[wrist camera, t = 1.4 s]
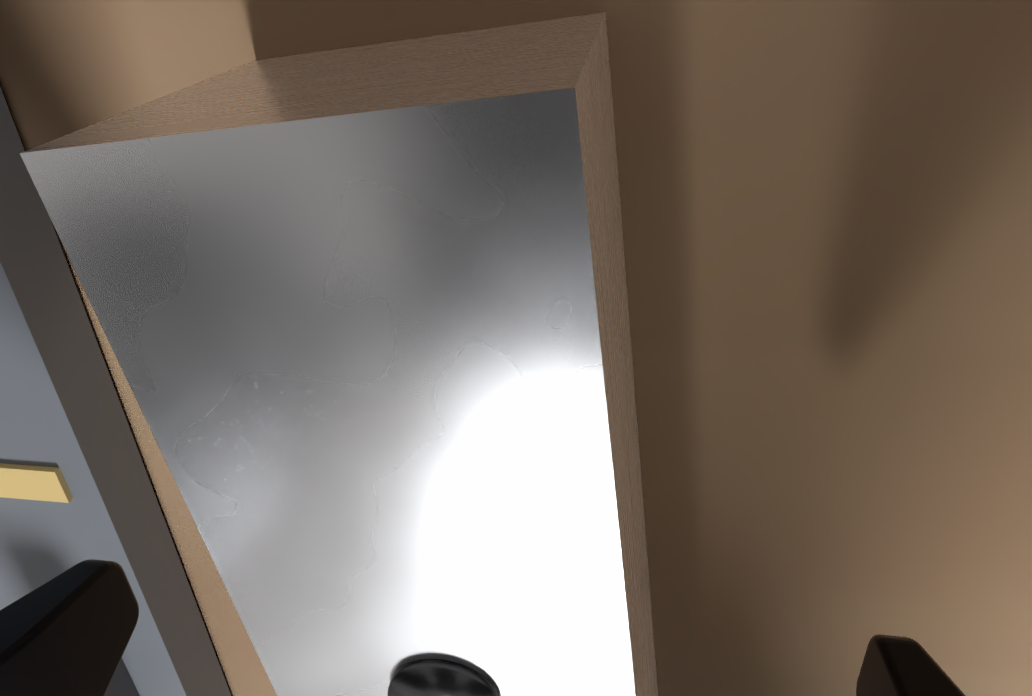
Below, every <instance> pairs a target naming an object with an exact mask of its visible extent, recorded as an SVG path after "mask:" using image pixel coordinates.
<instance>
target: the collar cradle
mask: <svg viewBox="0 0 1032 696" xmlns="http://www.w3.org/2000/svg"><path fill="white" fill-rule="evenodd" d="M21 152H24V148H23V145H22V143H21V140H20V137H19V135H18V132H17V129H16V127H15V124H14V122H13V119H12V116H11V114H10V111H9V108H8V106H7V103H6V100H5V98H4V95H3V93H2V90H1V87H0V610H1V609H3V608H5V607H6V606H8V605H9V604H11V603H13V602H14V601H16V600H18V599H19V598H21V597H23V596H24V595H26V594H28V593H29V592H31V591H33V590H34V589H36V588H38V587H39V586H41V585H43V584H44V583H46V582H48V581H49V580H51V579H53V578H54V577H56V576H58V575H59V574H61V573H63V572H64V571H66V570H68V569H69V568H71V567H73V566H74V565H76V564H78V563H80V562H81V561H84V560H89V559H95V560H105V561H114V562H117V563H118V564H120V565H121V566H122V568H123V570H124V572H125V574H126V577H127V579H128V581H129V583H130V586H131V588H132V590H133V593H134V595H135V597H136V599H137V602H138V605H139V617H138V621H137V624H136V627H135V629H134V631H133V634H132V636H131V638H130V640H129V642H128V645H127V647H126V649H125V651H124V654H123V656H122V658H121V660H120V662H119V665H118V667H117V669H116V671H115V674H114V676H113V678H112V680H111V682H110V685H109V687H108V689H107V691H106V694H105V696H231V694H230V691H229V688H228V686H227V683H226V680H225V678H224V675H223V672H222V670H221V667H220V665H219V662H218V659H217V657H216V654H215V651H214V649H213V646H212V643H211V641H210V638H209V636H208V633H207V630H206V628H205V625H204V622H203V620H202V617H201V614H200V612H199V609H198V607H197V604H196V601H195V599H194V596H193V593H192V591H191V588H190V585H189V583H188V580H187V578H186V575H185V572H184V570H183V567H182V564H181V562H180V559H179V556H178V554H177V551H176V549H175V546H174V543H173V541H172V538H171V535H170V533H169V530H168V527H167V525H166V522H165V520H164V517H163V514H162V512H161V509H160V506H159V504H158V501H157V498H156V496H155V493H154V491H153V488H152V485H151V483H150V480H149V477H148V475H147V472H146V470H145V467H144V464H143V462H142V459H141V456H140V454H139V451H138V448H137V446H136V443H135V441H134V438H133V435H132V433H131V430H130V427H129V425H128V422H127V419H126V417H125V414H124V412H123V409H122V406H121V404H120V401H119V398H118V396H117V393H116V390H115V388H114V385H113V383H112V380H111V377H110V375H109V372H108V369H107V367H106V364H105V361H104V359H103V356H102V354H101V351H100V348H99V346H98V343H97V340H96V338H95V335H94V332H93V330H92V327H91V325H90V322H89V319H88V317H87V314H86V311H85V309H84V306H83V303H82V301H81V298H80V296H79V293H78V290H77V288H76V285H75V282H74V280H73V277H72V274H71V272H70V269H69V267H68V264H67V261H66V259H65V256H64V253H63V251H62V248H61V245H60V243H59V240H58V238H57V235H56V232H55V230H54V227H53V224H52V222H51V219H50V216H49V214H48V212H47V210H46V208H45V206H44V204H43V202H42V199H41V197H40V195H39V193H38V191H37V189H36V187H35V185H34V183H33V181H32V178H31V176H30V174H29V172H28V170H27V168H26V166H25V164H24V162H23V159H22V157H21V155H20V153H21Z"/></svg>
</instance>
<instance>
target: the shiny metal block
mask: <svg viewBox="0 0 1032 696" xmlns="http://www.w3.org/2000/svg"><path fill="white" fill-rule="evenodd" d="M20 155H21V157H22V159H23V162H24V164H25V166H26V168H27V170H28V172H29V174H30V176H31V178H32V181H33V183H34V185H35V187H36V189H37V191H38V193H39V195H40V197H41V199H42V202H43V204H44V206H45V208H46V210H47V212H48V214H49V216H50V218H51V221H52V223H53V225H54V227H55V229H56V231H57V233H58V235H59V237H60V240H61V242H62V244H63V246H64V248H65V250H66V252H67V254H68V256H69V258H70V261H71V263H72V265H73V267H74V269H75V271H76V273H77V275H78V277H79V280H80V282H81V284H82V286H83V288H84V290H85V292H86V294H87V296H88V298H89V301H90V303H91V305H92V307H93V309H94V311H95V313H96V315H97V317H98V320H99V322H100V324H101V326H102V328H103V330H104V332H105V334H106V336H107V338H108V341H109V343H110V345H111V347H112V349H113V351H114V353H115V355H116V357H117V360H118V362H119V364H120V366H121V368H122V370H123V372H124V374H125V376H126V378H127V381H128V383H129V385H130V387H131V389H132V391H133V393H134V395H135V397H136V400H137V402H138V404H139V406H140V408H141V410H142V412H143V414H144V416H145V418H146V421H147V423H148V425H149V427H150V429H151V431H152V433H153V435H154V437H155V440H156V442H157V444H158V446H159V448H160V450H161V452H162V454H163V456H164V458H165V461H166V463H167V465H168V467H169V469H170V471H171V473H172V475H173V477H174V480H175V482H176V484H177V486H178V488H179V490H180V492H181V494H182V496H183V498H184V501H185V503H186V505H187V507H188V509H189V511H190V513H191V515H192V517H193V520H194V522H195V524H196V526H197V528H198V530H199V532H200V534H201V536H202V539H203V541H204V543H205V545H206V547H207V549H208V551H209V553H210V555H211V557H212V560H213V562H214V564H215V566H216V568H217V570H218V572H219V574H220V576H221V579H222V581H223V583H224V585H225V587H226V589H227V591H228V593H229V595H230V597H231V600H232V602H233V604H234V606H235V608H236V610H237V612H238V614H239V616H240V619H241V621H242V623H243V625H244V627H245V629H246V631H247V633H248V635H249V637H250V640H251V642H252V644H253V646H254V648H255V650H256V652H257V654H258V656H259V659H260V661H261V663H262V665H263V667H264V669H265V671H266V673H267V675H268V677H269V680H270V682H271V684H272V686H273V688H274V690H275V692H276V694H277V696H658V689H657V676H656V663H655V650H654V637H653V624H652V611H651V598H650V584H649V571H648V558H647V545H646V532H645V519H644V506H643V493H642V480H641V467H640V454H639V441H638V427H637V414H636V401H635V388H634V375H633V362H632V349H631V336H630V323H629V310H628V297H627V284H626V270H625V257H624V244H623V231H622V218H621V205H620V192H619V179H618V166H617V153H616V140H615V127H614V113H613V100H612V87H611V74H610V61H609V48H608V35H607V22H606V12H603V13H596V14H589V15H582V16H574V17H567V18H560V19H553V20H545V21H538V22H531V23H524V24H516V25H509V26H502V27H495V28H487V29H480V30H473V31H466V32H458V33H451V34H444V35H437V36H429V37H422V38H415V39H407V40H400V41H393V42H386V43H378V44H371V45H364V46H357V47H349V48H342V49H335V50H328V51H320V52H313V53H306V54H299V55H291V56H284V57H277V58H270V59H262V60H256V61H253V62H251V63H248V64H246V65H243V66H240V67H238V68H235V69H233V70H230V71H228V72H225V73H223V74H220V75H218V76H215V77H212V78H210V79H207V80H205V81H202V82H200V83H197V84H195V85H192V86H190V87H187V88H184V89H182V90H179V91H177V92H174V93H172V94H169V95H167V96H164V97H162V98H159V99H156V100H154V101H151V102H149V103H146V104H144V105H141V106H139V107H136V108H133V109H131V110H128V111H126V112H123V113H121V114H118V115H116V116H113V117H111V118H108V119H105V120H103V121H100V122H98V123H95V124H93V125H90V126H88V127H85V128H83V129H80V130H77V131H75V132H72V133H70V134H67V135H65V136H62V137H60V138H57V139H55V140H52V141H49V142H47V143H44V144H42V145H39V146H37V147H34V148H32V149H29V150H26V151H24V152H21V153H20Z"/></svg>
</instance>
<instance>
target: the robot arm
mask: <svg viewBox="0 0 1032 696" xmlns="http://www.w3.org/2000/svg"><path fill="white" fill-rule="evenodd" d="M138 617H139V605H138V602H137V599H136V597H135V595H134V593H133V590H132V588H131V586H130V583H129V581H128V579H127V577H126V574H125V572H124V570H123V568H122V566H121V565H120V564H118V563H117V562H114V561H105V560H95V559H89V560H84V561H81V562H80V563H78V564H76V565H74V566H73V567H71V568H69V569H68V570H66V571H64V572H63V573H61V574H59V575H58V576H56V577H54V578H53V579H51V580H49V581H48V582H46V583H44V584H43V585H41V586H39V587H38V588H36V589H34V590H33V591H31V592H29V593H28V594H26V595H24V596H23V597H21V598H19V599H18V600H16V601H14V602H13V603H11V604H9V605H8V606H6V607H5V608H3V609H1V610H0V696H105V694H106V691H107V689H108V687H109V685H110V682H111V680H112V678H113V676H114V674H115V671H116V669H117V667H118V665H119V662H120V660H121V658H122V656H123V654H124V651H125V649H126V647H127V645H128V642H129V640H130V638H131V636H132V634H133V631H134V629H135V627H136V624H137V621H138ZM856 696H965V695H964V693H963V692H962V691H961V690H960V689H959V688H958V687H957V686H956V684H955V683H954V682H953V681H952V680H951V679H950V678H949V677H948V675H947V674H946V673H945V672H944V671H943V670H942V669H941V668H940V666H939V665H938V664H937V663H936V662H935V661H934V660H933V659H932V657H931V656H930V655H929V654H928V653H927V652H926V651H925V650H924V648H923V647H922V646H921V645H920V644H919V643H918V642H916V641H915V640H913V639H911V638H908V637H900V636H889V635H875V636H873V637H872V638H871V639H870V641H869V644H868V647H867V650H866V654H865V657H864V660H863V664H862V667H861V670H860V674H859V677H858V681H857V687H856Z"/></svg>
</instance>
